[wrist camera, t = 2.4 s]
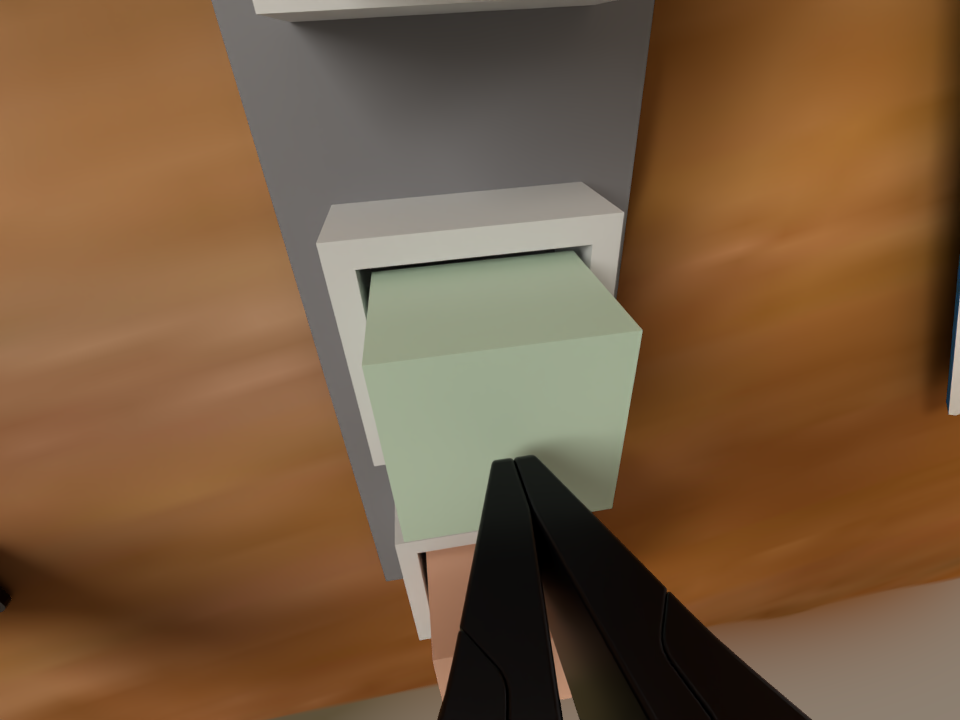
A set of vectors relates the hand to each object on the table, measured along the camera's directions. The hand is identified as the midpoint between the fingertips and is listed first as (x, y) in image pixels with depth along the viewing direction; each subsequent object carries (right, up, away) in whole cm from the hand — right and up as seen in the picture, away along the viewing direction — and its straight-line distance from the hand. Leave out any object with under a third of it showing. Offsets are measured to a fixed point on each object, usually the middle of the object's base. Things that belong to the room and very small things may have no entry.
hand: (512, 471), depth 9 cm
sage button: (-1, +3, +4) cm, 5 cm away
